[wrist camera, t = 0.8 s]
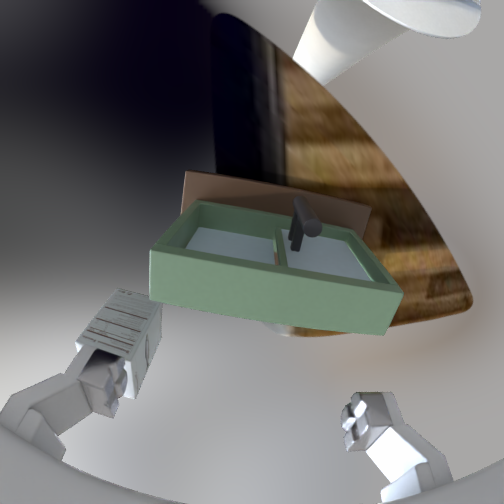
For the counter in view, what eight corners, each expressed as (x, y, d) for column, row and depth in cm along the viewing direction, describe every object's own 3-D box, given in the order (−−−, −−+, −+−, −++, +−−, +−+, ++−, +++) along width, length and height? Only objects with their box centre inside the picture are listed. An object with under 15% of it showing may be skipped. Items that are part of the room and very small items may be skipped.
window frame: (188, 169, 31) (130, 201, 17) (368, 205, 31) (435, 259, 17) (179, 250, 34) (132, 327, 21) (344, 279, 35) (383, 363, 21)
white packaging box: (162, 337, 40) (136, 402, 29) (118, 325, 40) (83, 382, 28) (164, 298, 37) (132, 362, 26) (116, 285, 37) (72, 341, 25)
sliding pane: (284, 187, 28) (296, 220, 18) (355, 203, 29) (399, 242, 19) (274, 232, 30) (280, 284, 20) (343, 245, 31) (377, 299, 21)
